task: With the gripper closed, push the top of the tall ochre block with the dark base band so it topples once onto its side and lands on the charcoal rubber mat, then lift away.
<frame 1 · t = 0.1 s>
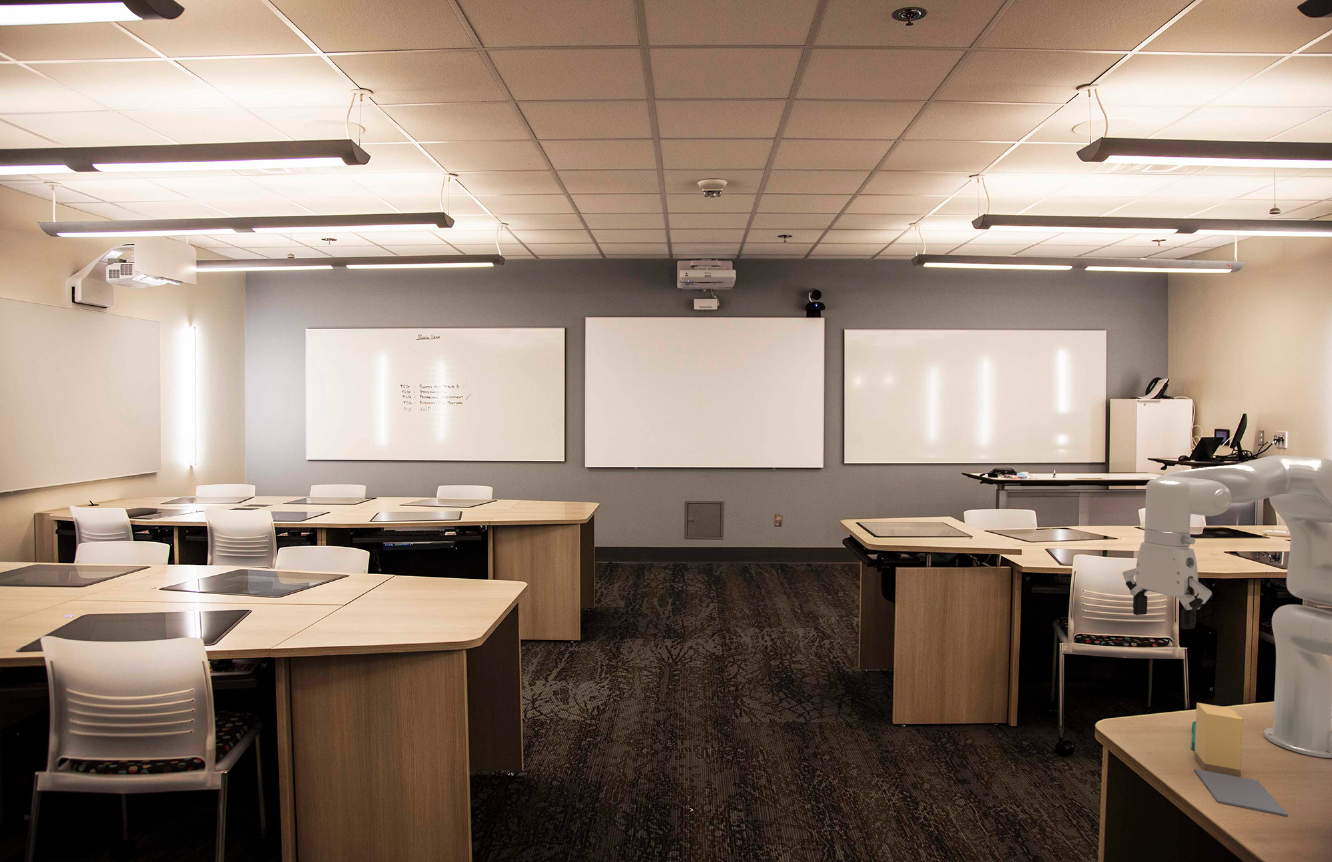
hand: (1162, 621, 139), 31 cm above the table, tool pointing down, fingers open, 9 cm apart
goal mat: (1238, 791, 132), on the table
digital multimeter: (1212, 747, 152), on the table
ochre block: (1216, 766, 141), on the table
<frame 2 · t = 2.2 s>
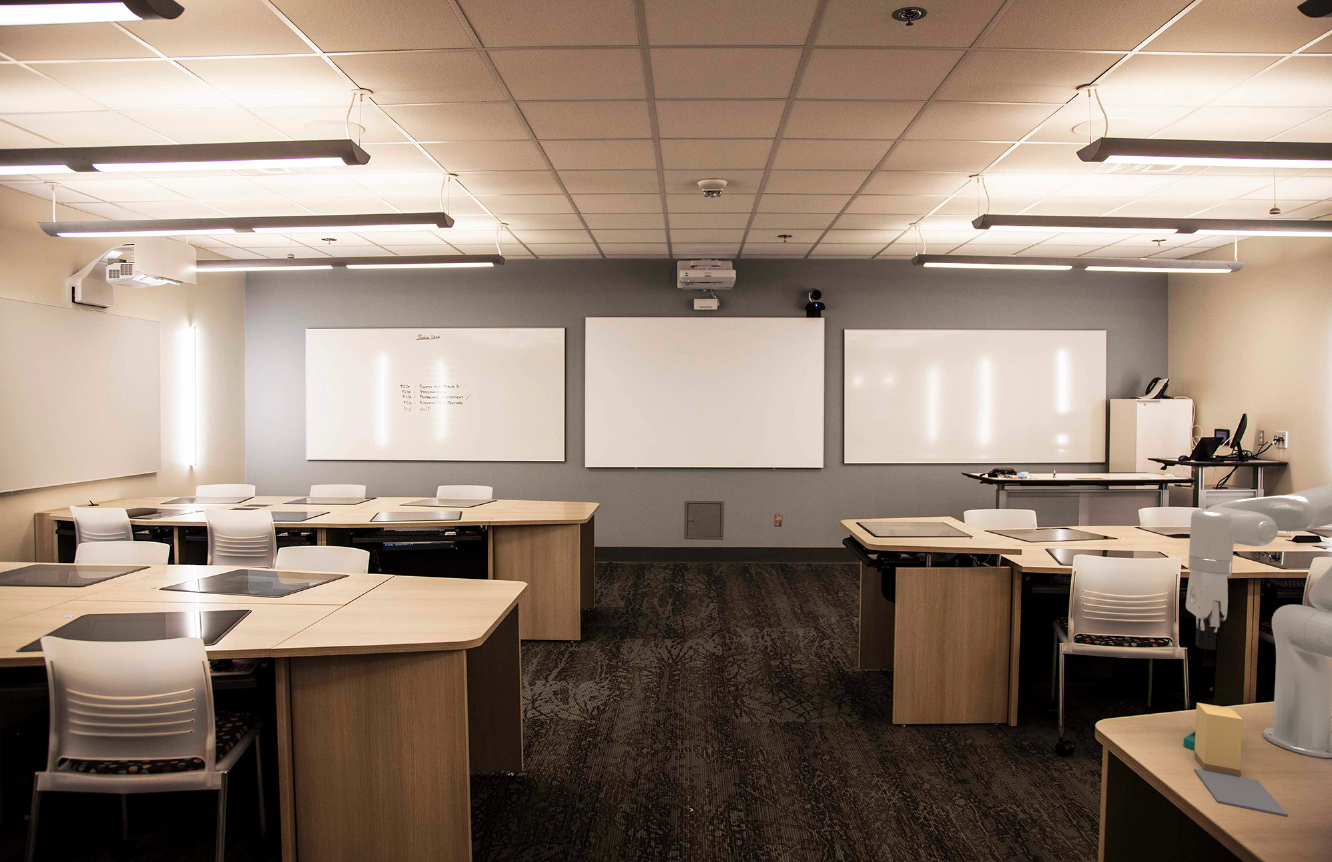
hand: (1205, 647, 149), 23 cm above the table, tool pointing down, fingers closed
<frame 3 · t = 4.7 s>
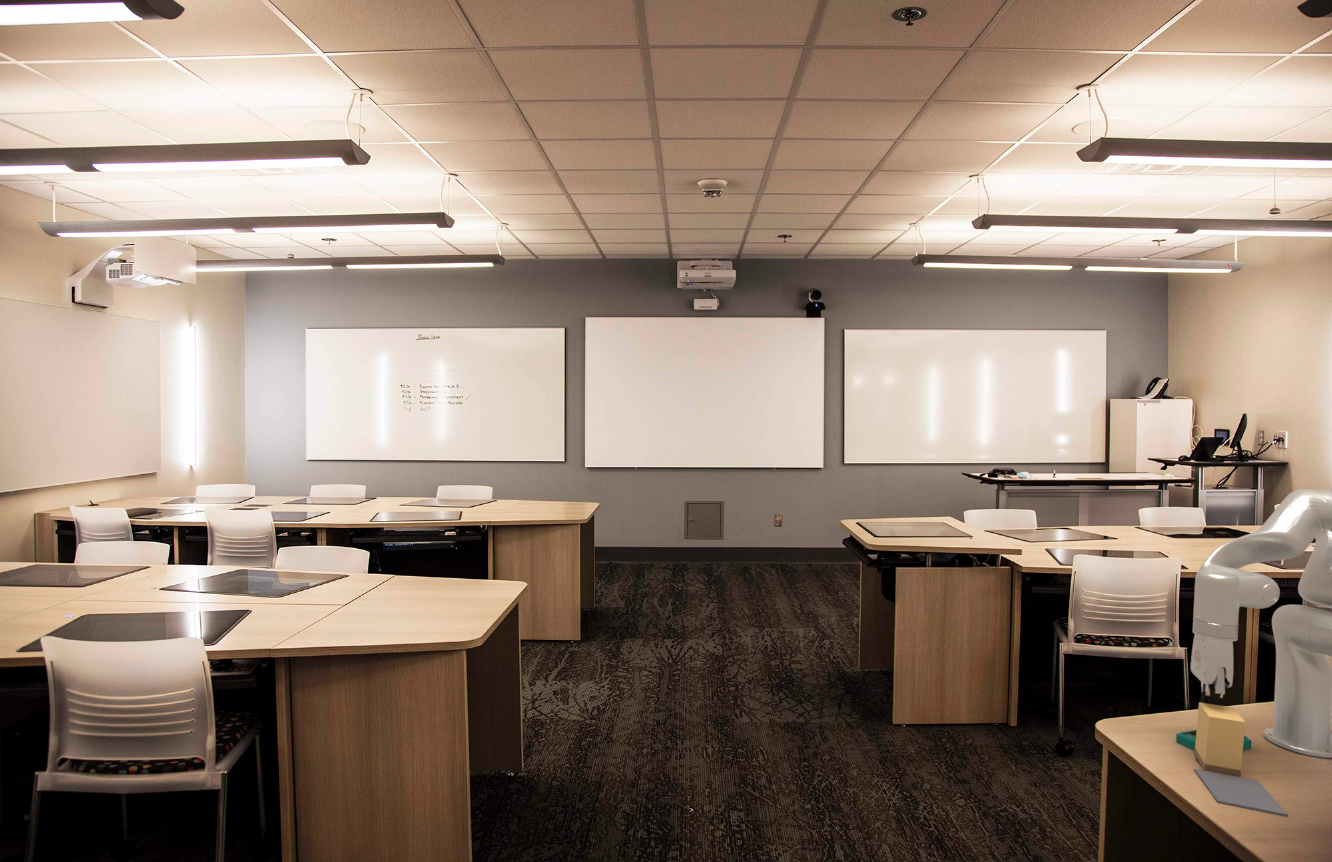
hand: (1210, 713, 145), 10 cm above the table, tool pointing down, fingers closed
ochre block: (1216, 765, 141), on the table, tilted 6°
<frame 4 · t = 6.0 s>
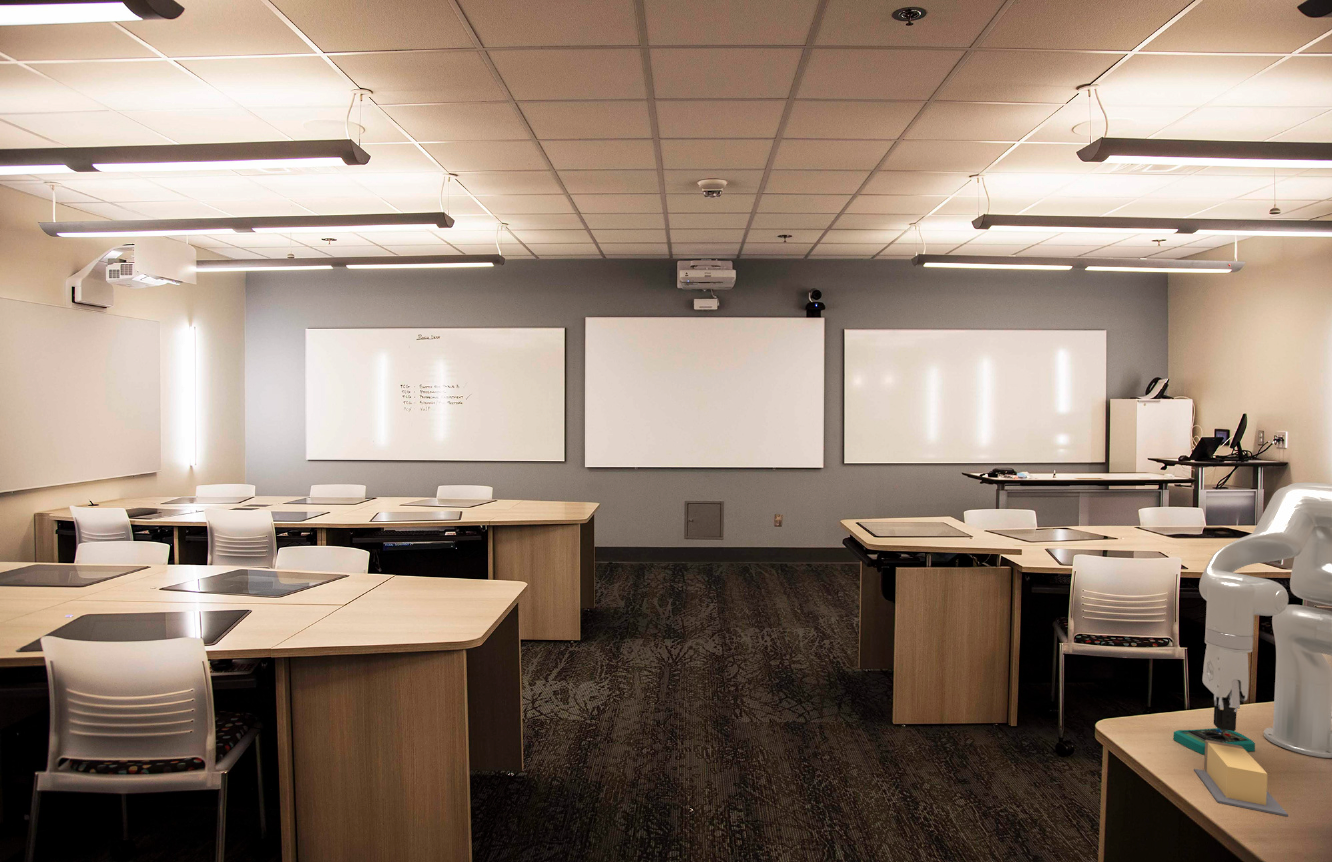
hand: (1224, 727, 138), 10 cm above the table, tool pointing down, fingers closed
ochre block: (1222, 756, 139), point 3 cm above the table, tilted 90°, touching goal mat
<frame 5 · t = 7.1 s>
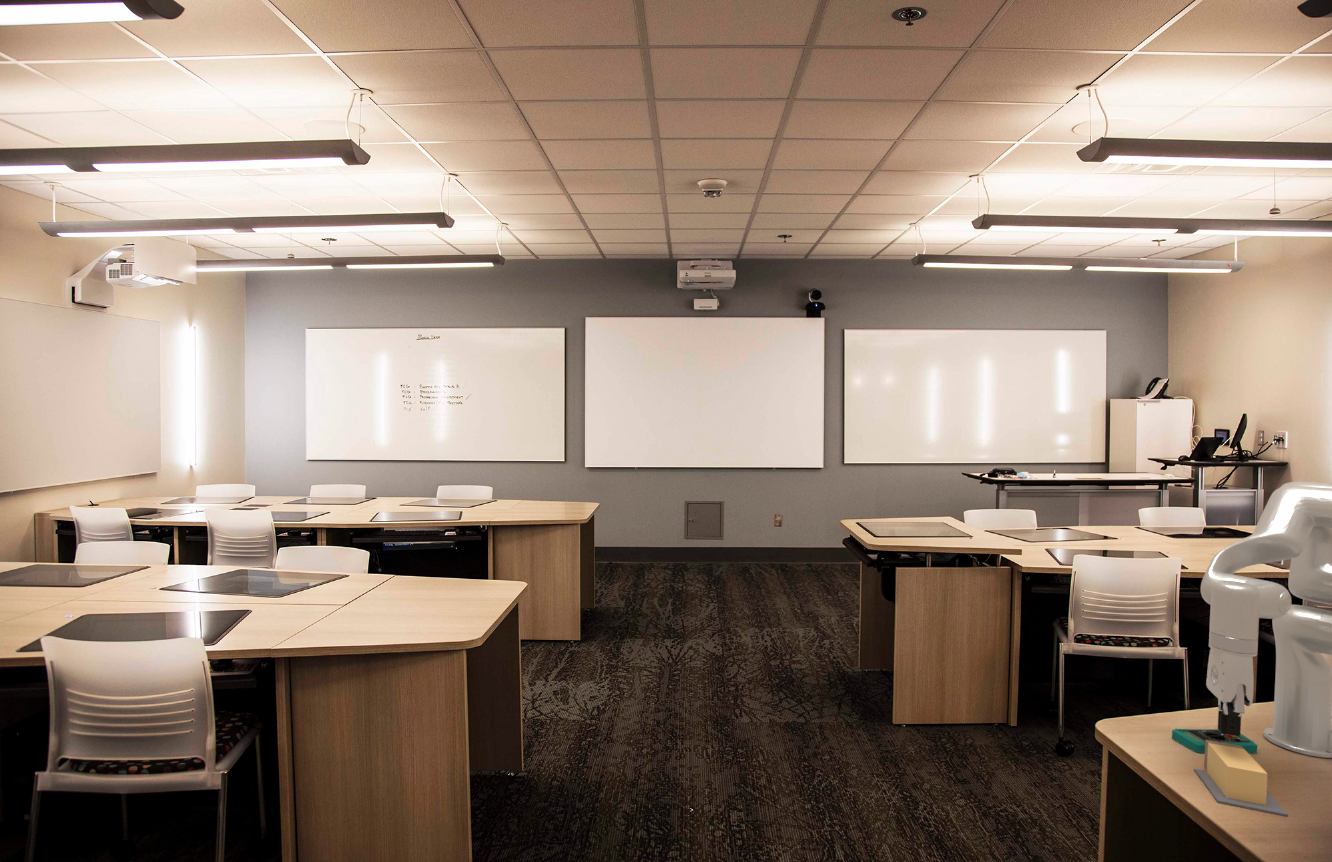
hand: (1228, 732, 136), 10 cm above the table, tool pointing down, fingers closed
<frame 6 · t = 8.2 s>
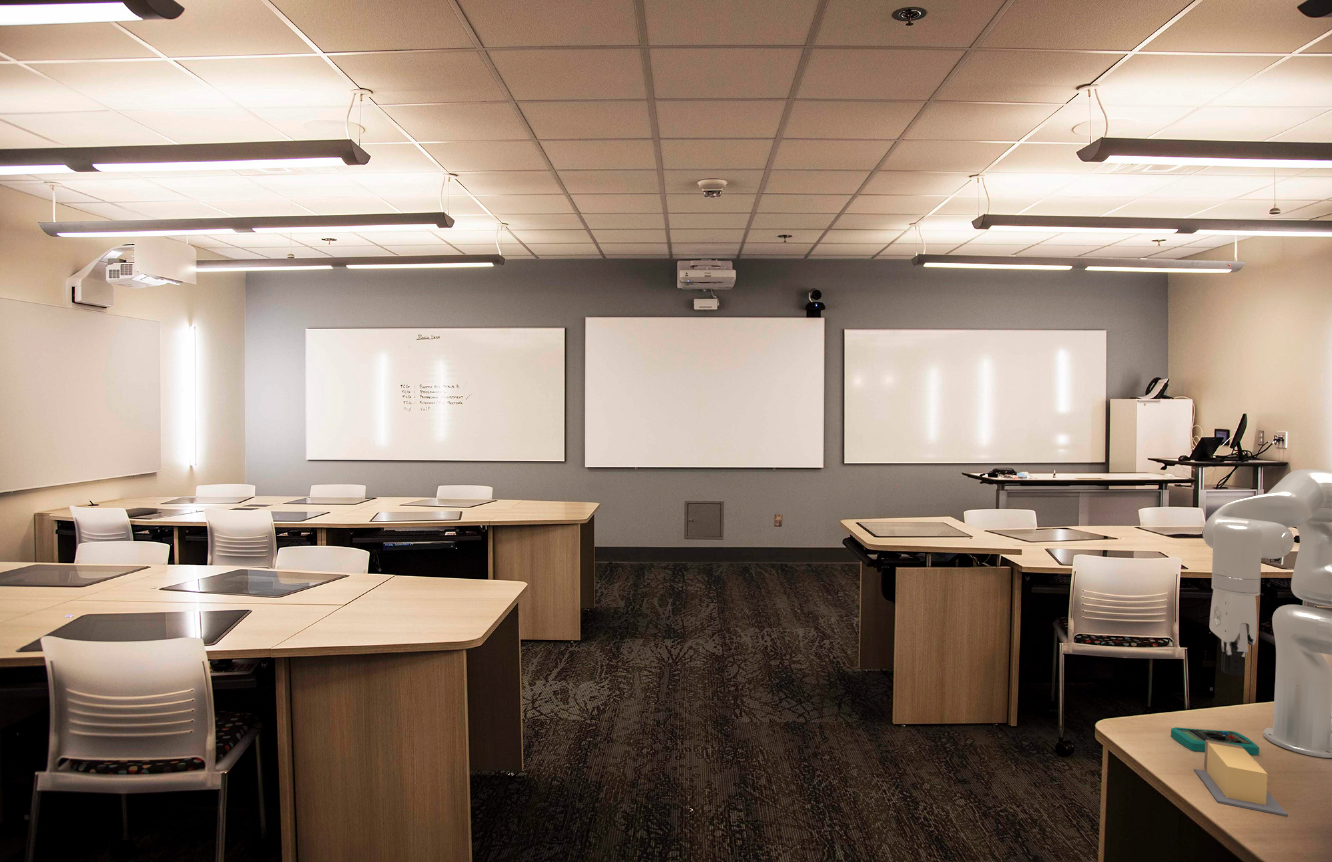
hand: (1232, 673, 136), 22 cm above the table, tool pointing down, fingers closed
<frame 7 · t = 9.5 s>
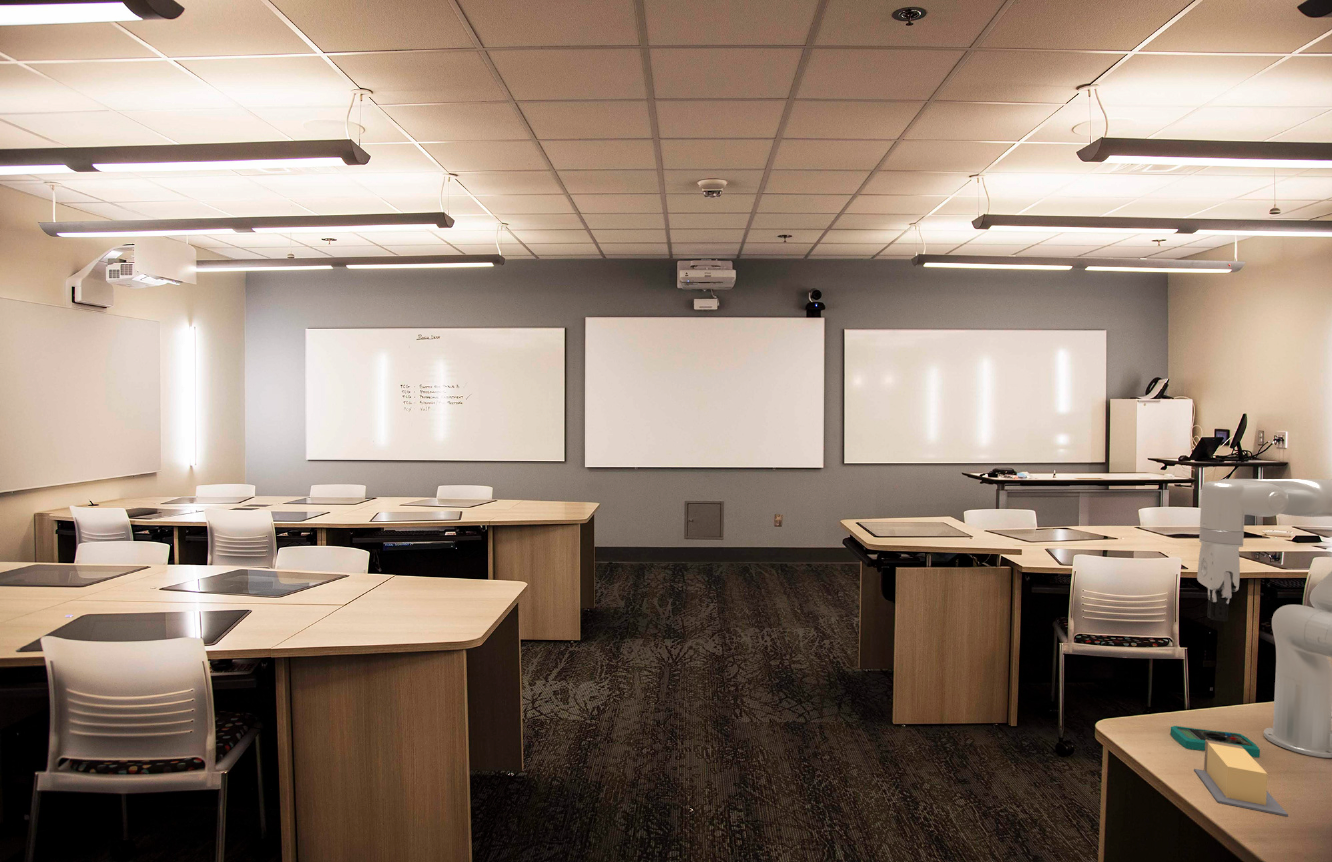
hand: (1217, 619, 149), 29 cm above the table, tool pointing down, fingers closed
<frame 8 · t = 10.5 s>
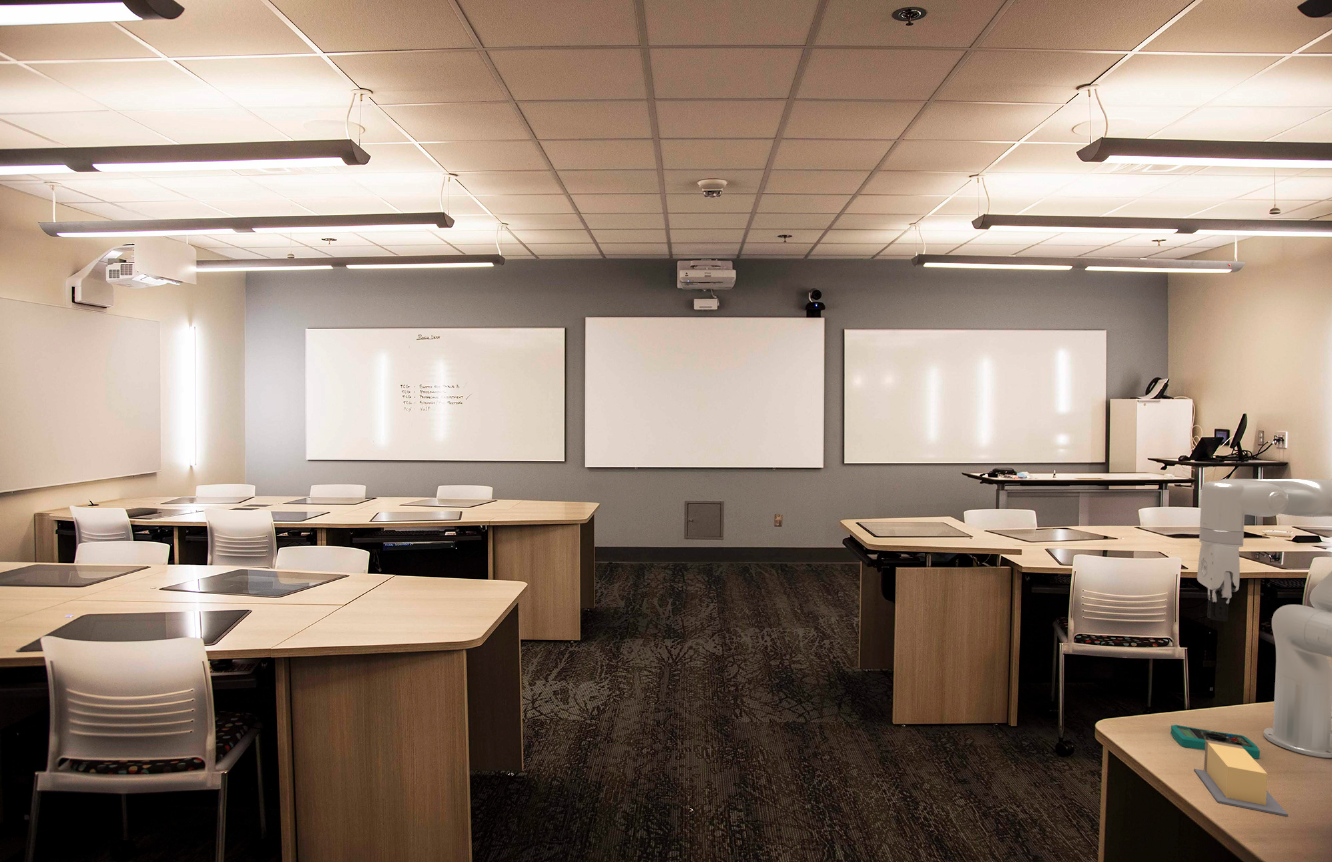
hand: (1217, 619, 149), 29 cm above the table, tool pointing down, fingers closed
at the end: ochre block tilted 90°; ochre block touching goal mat; ochre block inside the target area (1.1 cm from its centre), point 3.4 cm above the table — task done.
